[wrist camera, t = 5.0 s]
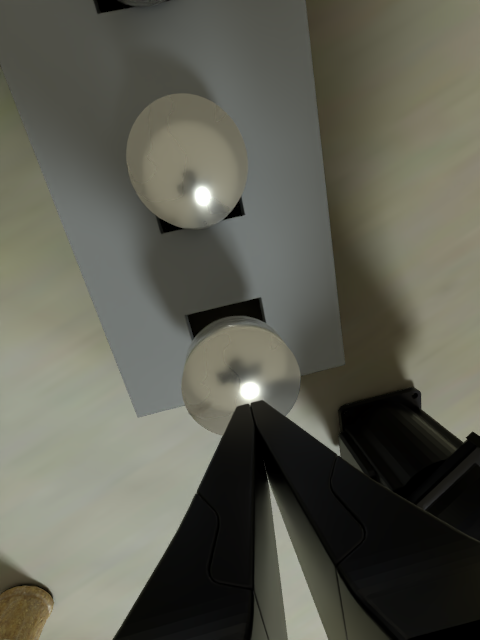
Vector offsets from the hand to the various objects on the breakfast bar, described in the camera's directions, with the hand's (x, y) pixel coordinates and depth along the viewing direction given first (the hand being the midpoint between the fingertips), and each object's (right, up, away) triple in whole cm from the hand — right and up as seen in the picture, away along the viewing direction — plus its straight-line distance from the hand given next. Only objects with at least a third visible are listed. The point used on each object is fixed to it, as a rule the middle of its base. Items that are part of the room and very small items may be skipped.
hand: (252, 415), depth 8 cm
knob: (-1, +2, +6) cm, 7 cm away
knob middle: (-3, +10, +6) cm, 12 cm away
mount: (-3, +10, +7) cm, 13 cm away
